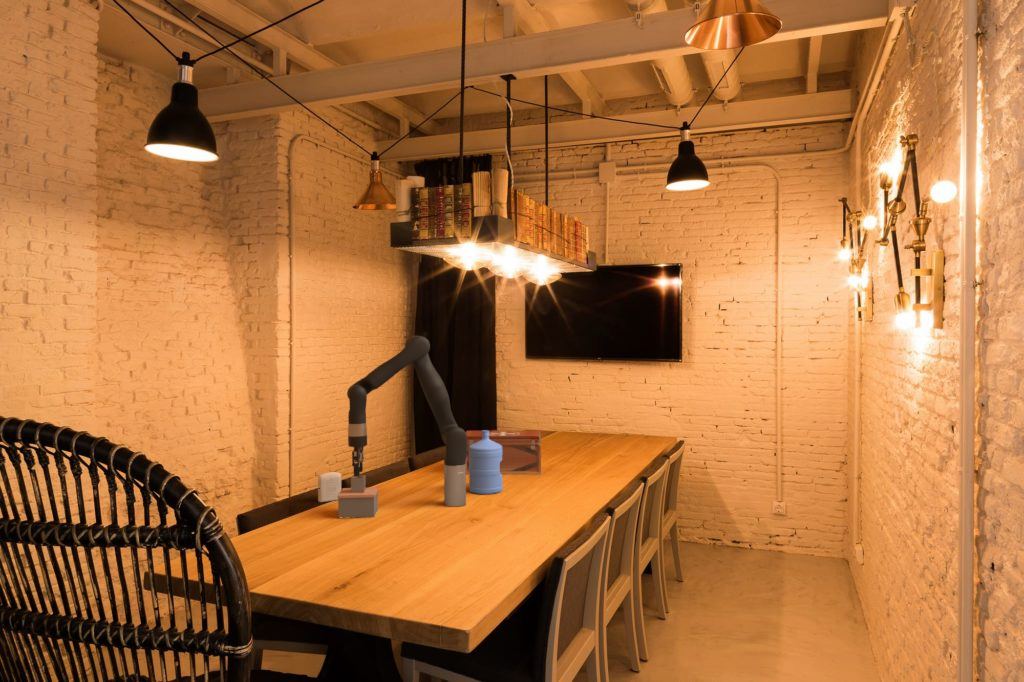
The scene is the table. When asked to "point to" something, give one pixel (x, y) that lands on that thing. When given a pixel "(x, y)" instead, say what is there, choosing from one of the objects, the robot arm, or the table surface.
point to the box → (358, 507)
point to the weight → (358, 484)
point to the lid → (347, 493)
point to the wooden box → (513, 450)
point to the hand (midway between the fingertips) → (358, 474)
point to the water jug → (485, 466)
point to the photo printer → (329, 486)
